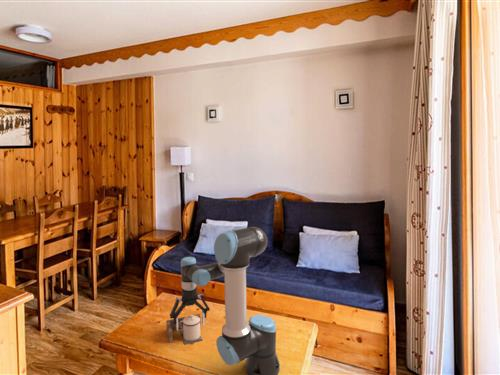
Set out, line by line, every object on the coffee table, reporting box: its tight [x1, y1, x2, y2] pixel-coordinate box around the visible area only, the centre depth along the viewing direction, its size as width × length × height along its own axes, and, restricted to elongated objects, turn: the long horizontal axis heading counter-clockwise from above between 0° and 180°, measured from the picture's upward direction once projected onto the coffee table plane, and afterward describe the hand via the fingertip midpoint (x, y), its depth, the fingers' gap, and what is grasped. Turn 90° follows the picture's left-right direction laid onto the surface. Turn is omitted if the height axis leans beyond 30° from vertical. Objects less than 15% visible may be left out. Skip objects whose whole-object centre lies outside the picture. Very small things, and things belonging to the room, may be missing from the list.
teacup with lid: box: [180, 314, 201, 341], centre depth 167 cm, size 12×9×12 cm
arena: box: [165, 313, 203, 346], centre depth 168 cm, size 16×18×6 cm
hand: (190, 326), depth 167 cm, fingers open, 13 cm apart
